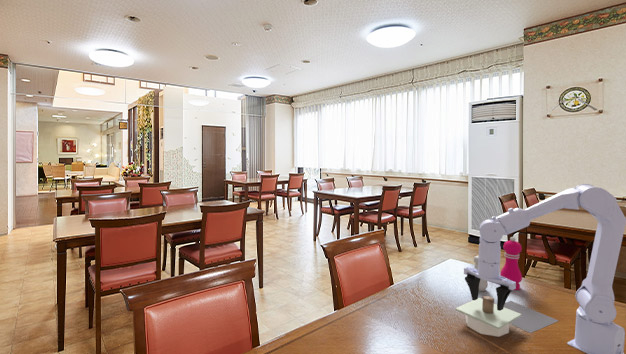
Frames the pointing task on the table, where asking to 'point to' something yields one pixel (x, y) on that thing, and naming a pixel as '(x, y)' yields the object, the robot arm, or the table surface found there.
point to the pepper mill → (512, 262)
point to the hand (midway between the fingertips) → (487, 304)
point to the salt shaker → (483, 283)
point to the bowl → (485, 327)
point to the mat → (529, 318)
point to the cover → (488, 312)
